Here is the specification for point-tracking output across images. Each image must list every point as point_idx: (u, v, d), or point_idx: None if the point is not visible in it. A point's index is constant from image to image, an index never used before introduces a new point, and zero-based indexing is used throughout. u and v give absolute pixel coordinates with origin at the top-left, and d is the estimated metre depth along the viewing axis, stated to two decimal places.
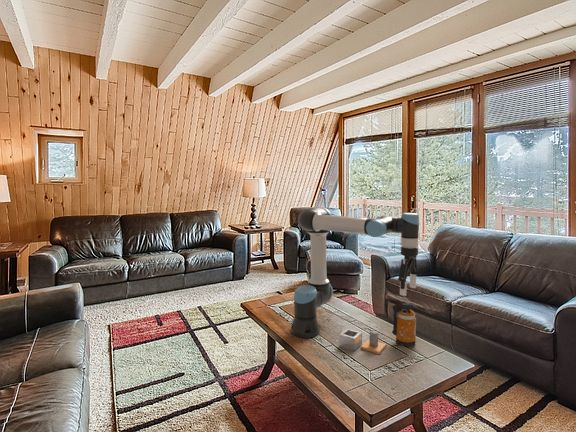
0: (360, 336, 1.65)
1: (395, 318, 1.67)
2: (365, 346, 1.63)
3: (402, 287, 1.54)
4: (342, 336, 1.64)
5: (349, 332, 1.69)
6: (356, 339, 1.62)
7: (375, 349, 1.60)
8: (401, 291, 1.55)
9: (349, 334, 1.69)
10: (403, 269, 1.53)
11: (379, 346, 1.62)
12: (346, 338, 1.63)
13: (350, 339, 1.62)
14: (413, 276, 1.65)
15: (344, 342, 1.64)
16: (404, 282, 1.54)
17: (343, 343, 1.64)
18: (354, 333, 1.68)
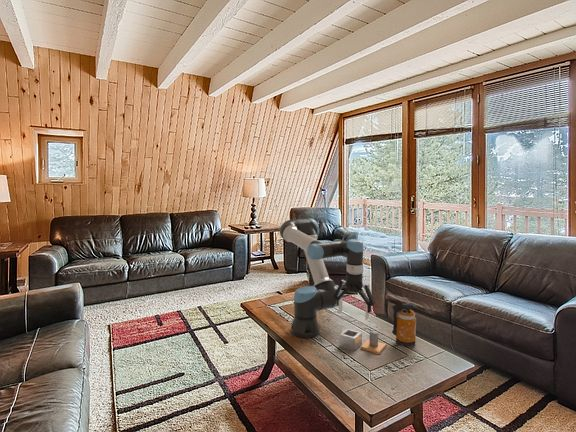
0: (360, 336, 1.65)
1: (395, 318, 1.67)
2: (365, 346, 1.63)
3: None
4: (342, 336, 1.64)
5: (349, 332, 1.69)
6: (356, 339, 1.62)
7: (375, 349, 1.60)
8: None
9: (349, 334, 1.69)
10: (338, 287, 1.68)
11: (379, 346, 1.62)
12: (346, 338, 1.63)
13: (350, 339, 1.62)
14: None
15: (344, 342, 1.64)
16: (338, 300, 1.68)
17: (343, 343, 1.64)
18: (354, 333, 1.68)
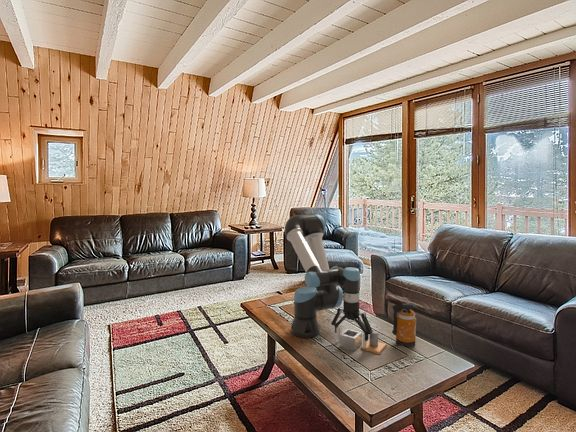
0: (360, 336, 1.65)
1: (395, 318, 1.67)
2: None
3: None
4: (342, 336, 1.64)
5: (349, 332, 1.69)
6: (356, 339, 1.62)
7: (375, 349, 1.60)
8: None
9: (349, 334, 1.69)
10: None
11: (379, 346, 1.62)
12: (346, 338, 1.63)
13: (350, 339, 1.62)
14: None
15: (344, 342, 1.64)
16: (336, 327, 1.69)
17: (343, 343, 1.64)
18: (354, 333, 1.68)
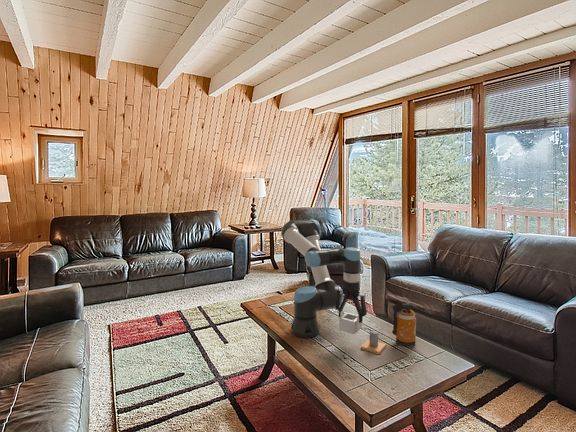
0: None
1: (395, 318, 1.67)
2: (365, 346, 1.63)
3: None
4: (342, 319, 1.64)
5: (348, 315, 1.69)
6: (356, 323, 1.61)
7: (375, 349, 1.60)
8: None
9: (349, 318, 1.69)
10: None
11: (379, 346, 1.62)
12: (346, 321, 1.62)
13: (350, 322, 1.61)
14: None
15: (344, 325, 1.63)
16: (340, 311, 1.67)
17: (343, 326, 1.64)
18: (354, 317, 1.67)
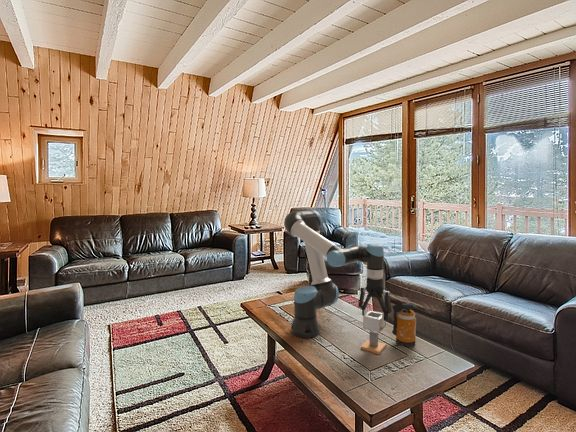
0: None
1: (395, 318, 1.67)
2: (365, 346, 1.63)
3: None
4: (366, 317, 1.60)
5: (372, 314, 1.66)
6: (380, 320, 1.58)
7: (375, 349, 1.60)
8: None
9: (372, 316, 1.65)
10: None
11: (379, 346, 1.62)
12: (370, 319, 1.59)
13: (374, 320, 1.58)
14: None
15: (368, 323, 1.60)
16: (364, 309, 1.64)
17: (367, 324, 1.60)
18: (378, 315, 1.64)
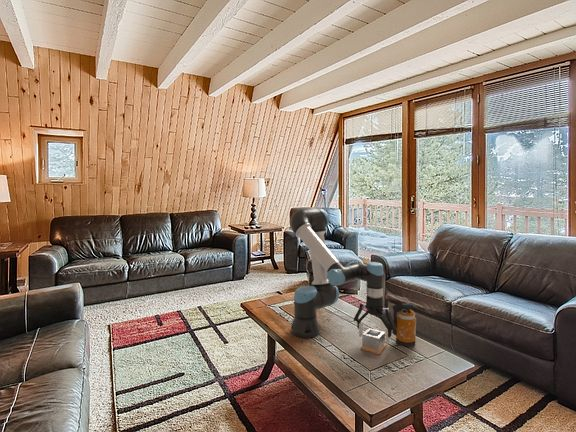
0: (383, 336, 1.63)
1: (395, 318, 1.67)
2: None
3: None
4: (365, 336, 1.61)
5: None
6: (380, 339, 1.59)
7: None
8: None
9: None
10: (358, 310, 1.66)
11: None
12: (369, 338, 1.60)
13: (374, 339, 1.59)
14: None
15: (367, 342, 1.61)
16: (359, 323, 1.66)
17: (366, 343, 1.61)
18: None
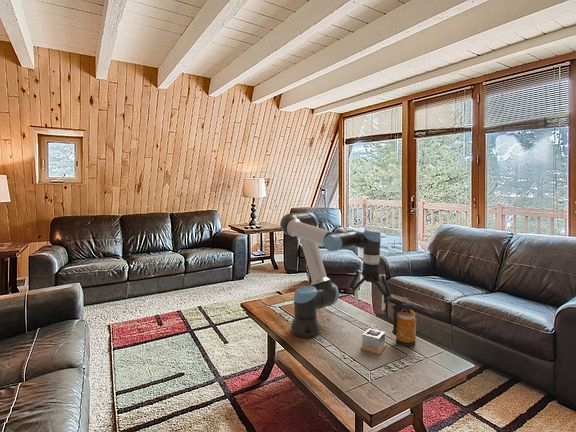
0: (383, 336, 1.63)
1: (395, 318, 1.67)
2: None
3: None
4: (365, 336, 1.61)
5: None
6: (380, 339, 1.59)
7: None
8: None
9: None
10: None
11: None
12: (369, 338, 1.60)
13: (374, 339, 1.59)
14: None
15: (367, 342, 1.61)
16: (354, 290, 1.66)
17: (366, 343, 1.61)
18: None
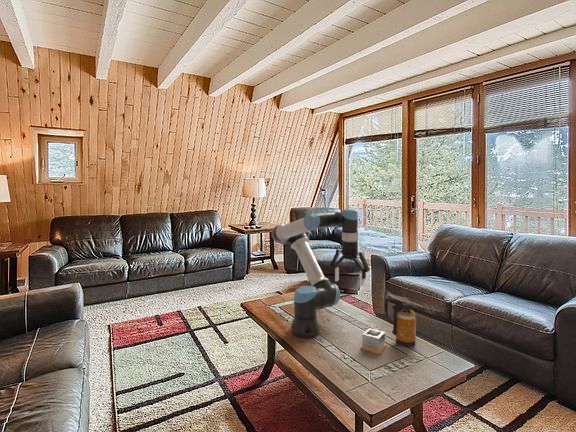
0: (383, 336, 1.63)
1: (395, 318, 1.67)
2: None
3: None
4: (365, 336, 1.61)
5: None
6: (380, 339, 1.59)
7: None
8: None
9: None
10: None
11: None
12: (369, 338, 1.60)
13: (374, 339, 1.59)
14: None
15: (367, 342, 1.61)
16: (335, 268, 1.73)
17: (366, 343, 1.61)
18: None
